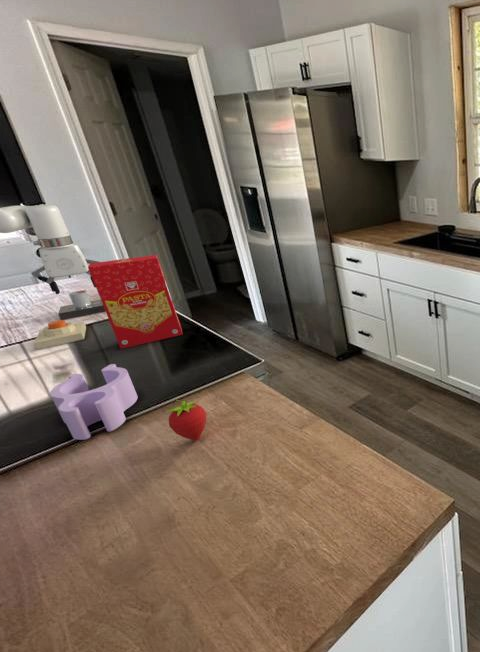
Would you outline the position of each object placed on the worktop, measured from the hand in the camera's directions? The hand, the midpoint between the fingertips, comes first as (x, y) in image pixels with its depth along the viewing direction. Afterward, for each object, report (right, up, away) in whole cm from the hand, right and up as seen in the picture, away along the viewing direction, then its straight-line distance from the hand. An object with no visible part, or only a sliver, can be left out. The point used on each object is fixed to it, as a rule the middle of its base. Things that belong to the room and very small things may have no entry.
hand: (77, 289), depth 145 cm
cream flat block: (+13, -16, -17) cm, 27 cm away
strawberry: (+90, -33, -62) cm, 114 cm away
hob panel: (0, -8, +3) cm, 9 cm away
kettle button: (+13, -12, -18) cm, 26 cm away
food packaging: (+42, -16, -18) cm, 49 cm away
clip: (+62, -30, -53) cm, 87 cm away
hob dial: (0, -6, +2) cm, 6 cm away
